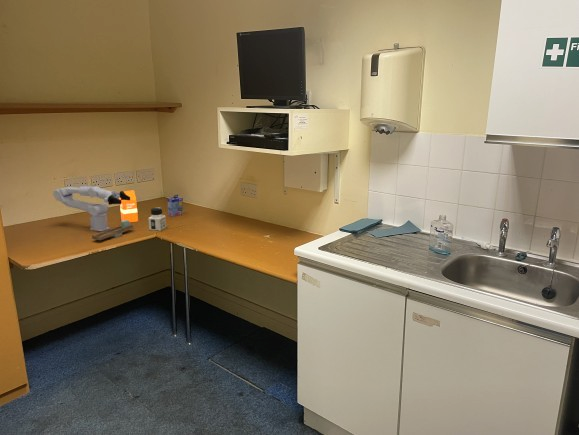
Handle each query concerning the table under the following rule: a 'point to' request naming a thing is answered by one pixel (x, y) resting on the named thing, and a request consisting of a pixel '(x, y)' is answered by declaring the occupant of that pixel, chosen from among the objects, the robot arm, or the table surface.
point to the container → (157, 220)
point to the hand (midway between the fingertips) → (125, 200)
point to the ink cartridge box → (175, 206)
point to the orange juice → (129, 207)
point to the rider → (124, 223)
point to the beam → (112, 233)
